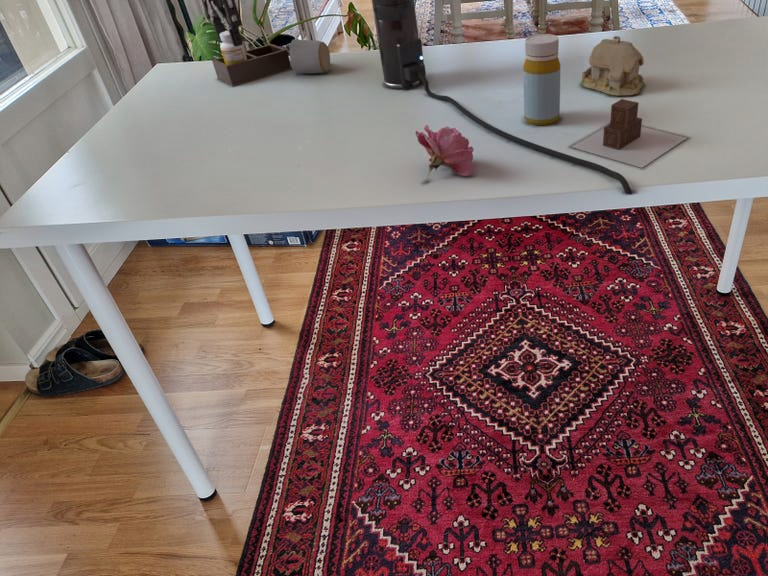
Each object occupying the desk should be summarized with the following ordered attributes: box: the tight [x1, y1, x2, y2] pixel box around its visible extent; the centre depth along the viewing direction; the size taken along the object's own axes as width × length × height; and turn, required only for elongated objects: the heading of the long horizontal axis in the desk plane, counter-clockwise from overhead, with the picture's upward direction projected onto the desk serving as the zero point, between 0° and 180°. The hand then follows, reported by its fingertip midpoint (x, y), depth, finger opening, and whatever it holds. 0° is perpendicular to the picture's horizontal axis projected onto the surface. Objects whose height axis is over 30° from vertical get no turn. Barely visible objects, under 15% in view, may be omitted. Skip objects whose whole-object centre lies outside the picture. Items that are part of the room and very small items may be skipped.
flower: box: [414, 124, 474, 183], centre depth 111 cm, size 11×10×10 cm
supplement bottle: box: [219, 30, 247, 65], centre depth 157 cm, size 5×5×10 cm
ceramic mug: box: [289, 38, 331, 75], centre depth 159 cm, size 11×8×8 cm
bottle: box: [522, 33, 561, 126], centre depth 123 cm, size 7×7×15 cm
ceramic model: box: [581, 35, 645, 97], centre depth 136 cm, size 14×11×10 cm
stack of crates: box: [571, 98, 687, 169], centre depth 115 cm, size 15×15×7 cm
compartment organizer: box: [211, 43, 293, 87], centre depth 161 cm, size 9×16×5 cm, turn 132°
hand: (230, 42), depth 155 cm, fingers open, 8 cm apart
